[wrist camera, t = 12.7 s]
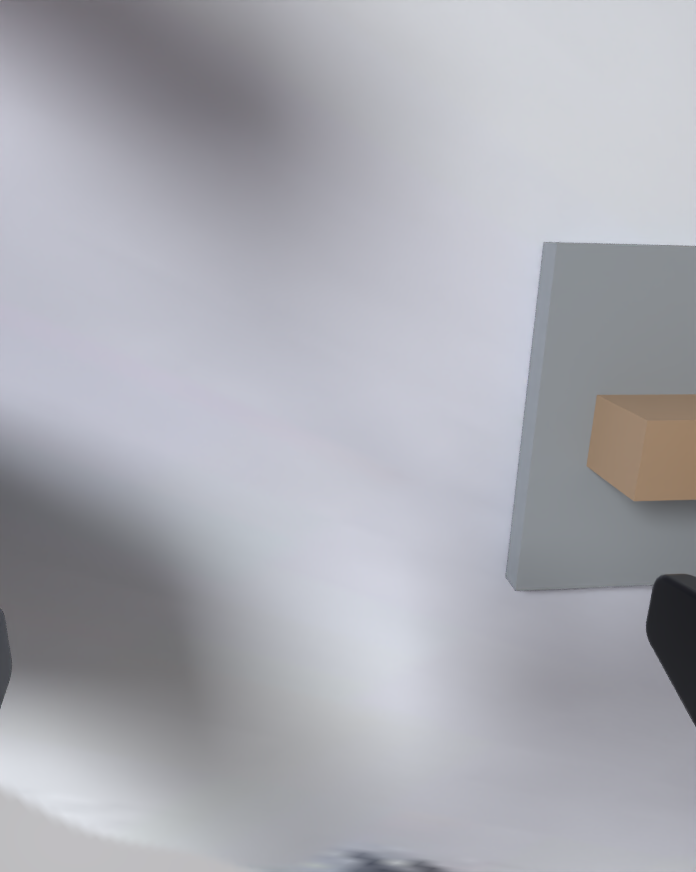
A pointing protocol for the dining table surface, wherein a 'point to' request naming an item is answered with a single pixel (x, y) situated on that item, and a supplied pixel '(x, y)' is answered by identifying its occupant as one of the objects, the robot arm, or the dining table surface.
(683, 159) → the dining table surface
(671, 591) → the robot arm
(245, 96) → the dining table surface
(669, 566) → the ridge stand
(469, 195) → the dining table surface
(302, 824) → the dining table surface
